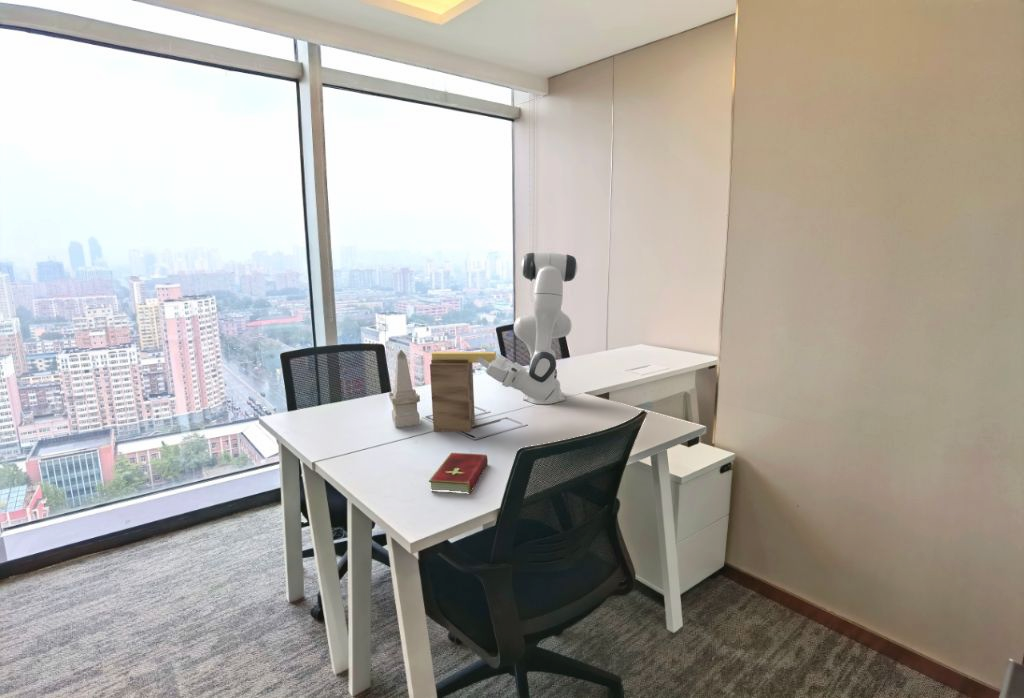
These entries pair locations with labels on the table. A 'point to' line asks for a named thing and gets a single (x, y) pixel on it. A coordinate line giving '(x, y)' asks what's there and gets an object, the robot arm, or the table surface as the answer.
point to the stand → (452, 395)
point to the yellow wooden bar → (464, 356)
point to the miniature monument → (404, 395)
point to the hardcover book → (459, 472)
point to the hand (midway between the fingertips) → (480, 356)
